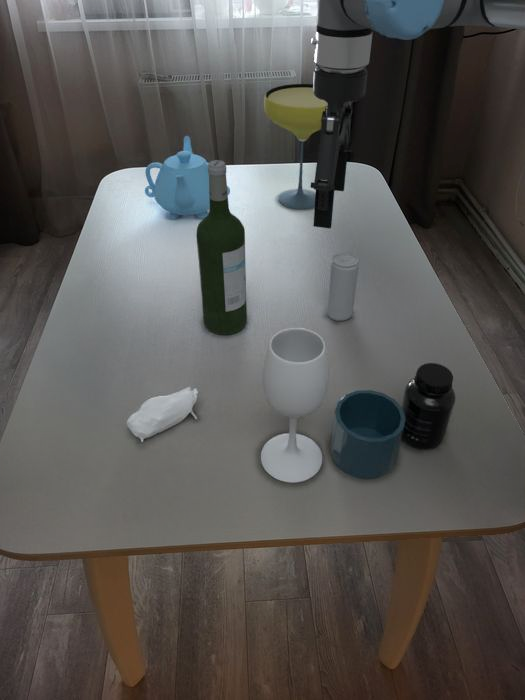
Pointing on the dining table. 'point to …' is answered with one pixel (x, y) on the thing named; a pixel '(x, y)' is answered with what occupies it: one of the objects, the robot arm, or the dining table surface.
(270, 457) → the wineglass
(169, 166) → the teapot
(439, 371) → the supplement bottle
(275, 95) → the cocktail glass
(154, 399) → the white oblong lump
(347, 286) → the beverage can
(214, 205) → the wine bottle
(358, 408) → the cup
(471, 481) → the dining table surface
